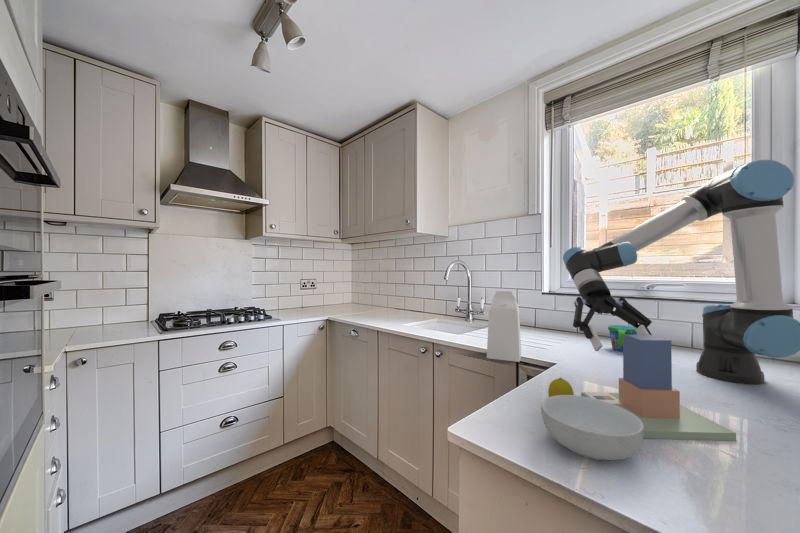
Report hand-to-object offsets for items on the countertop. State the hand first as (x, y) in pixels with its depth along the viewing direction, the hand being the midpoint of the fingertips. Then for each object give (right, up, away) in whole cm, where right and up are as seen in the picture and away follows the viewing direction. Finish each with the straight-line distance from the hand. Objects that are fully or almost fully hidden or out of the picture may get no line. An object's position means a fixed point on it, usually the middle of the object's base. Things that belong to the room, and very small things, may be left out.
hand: (625, 348), depth 81 cm
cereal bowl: (-22, -14, -21) cm, 33 cm away
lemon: (-19, -14, -5) cm, 24 cm away
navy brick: (-1, -6, -7) cm, 10 cm away
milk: (-17, -15, +43) cm, 49 cm away
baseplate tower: (0, -14, -8) cm, 16 cm away
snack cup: (+37, -15, +52) cm, 65 cm away
